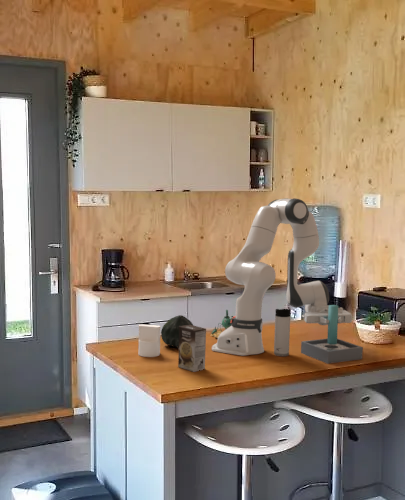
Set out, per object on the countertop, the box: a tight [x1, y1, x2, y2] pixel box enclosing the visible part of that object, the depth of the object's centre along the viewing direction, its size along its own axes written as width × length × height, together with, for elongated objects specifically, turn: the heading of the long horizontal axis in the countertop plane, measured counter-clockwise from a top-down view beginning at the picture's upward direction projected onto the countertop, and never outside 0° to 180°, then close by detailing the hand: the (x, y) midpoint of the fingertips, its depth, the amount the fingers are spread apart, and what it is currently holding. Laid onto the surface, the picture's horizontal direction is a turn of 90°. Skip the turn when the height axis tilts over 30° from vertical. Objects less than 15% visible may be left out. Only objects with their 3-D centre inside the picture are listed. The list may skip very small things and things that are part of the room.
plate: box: [313, 343, 349, 351], centre depth 268 cm, size 12×12×3 cm
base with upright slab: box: [138, 323, 161, 358], centre depth 265 cm, size 9×9×12 cm
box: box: [300, 338, 364, 365], centre depth 268 cm, size 18×18×5 cm
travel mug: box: [273, 308, 291, 357], centre depth 268 cm, size 6×7×20 cm
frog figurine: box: [210, 309, 234, 339], centre depth 294 cm, size 10×18×15 cm, turn 33°
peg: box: [326, 304, 339, 345], centre depth 267 cm, size 4×4×16 cm
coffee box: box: [177, 324, 207, 373], centre depth 245 cm, size 9×6×16 cm
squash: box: [160, 314, 194, 349], centre depth 278 cm, size 14×15×15 cm
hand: (333, 321), depth 266 cm, fingers closed on peg, 4 cm apart
